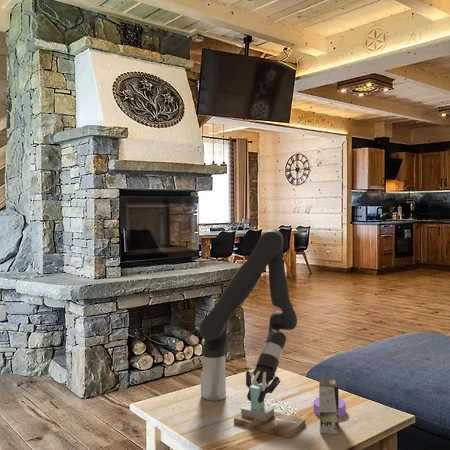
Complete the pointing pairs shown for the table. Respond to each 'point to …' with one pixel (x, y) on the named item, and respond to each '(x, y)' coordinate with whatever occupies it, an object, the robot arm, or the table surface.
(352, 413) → the table surface
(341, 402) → the masking tape
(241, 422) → the walnut board
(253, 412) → the block
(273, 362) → the robot arm
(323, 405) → the coffee box
